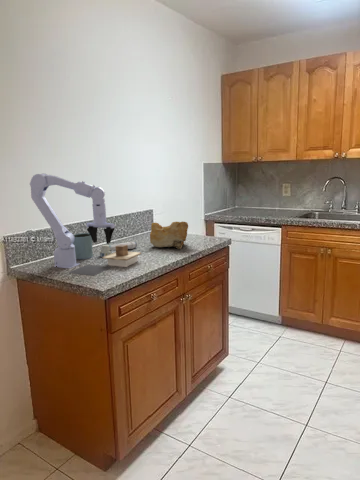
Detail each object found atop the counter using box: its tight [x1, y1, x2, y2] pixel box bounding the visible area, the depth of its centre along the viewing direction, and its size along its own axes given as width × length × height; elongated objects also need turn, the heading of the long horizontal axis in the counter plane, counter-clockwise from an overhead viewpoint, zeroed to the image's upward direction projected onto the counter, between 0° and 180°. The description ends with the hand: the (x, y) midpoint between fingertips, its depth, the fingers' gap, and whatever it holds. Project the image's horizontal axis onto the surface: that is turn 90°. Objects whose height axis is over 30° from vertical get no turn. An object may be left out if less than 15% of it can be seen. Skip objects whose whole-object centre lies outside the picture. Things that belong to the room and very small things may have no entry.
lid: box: [101, 243, 142, 261], centre depth 170 cm, size 13×13×5 cm
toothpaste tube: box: [99, 241, 138, 258], centre depth 194 cm, size 5×7×25 cm
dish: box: [107, 256, 139, 268], centre depth 171 cm, size 10×10×4 cm
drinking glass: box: [73, 232, 94, 260], centre depth 184 cm, size 10×10×12 cm
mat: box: [68, 264, 113, 277], centre depth 162 cm, size 14×14×1 cm
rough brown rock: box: [149, 221, 189, 250], centre depth 204 cm, size 23×17×15 cm
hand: (101, 242), depth 170 cm, fingers open, 7 cm apart
